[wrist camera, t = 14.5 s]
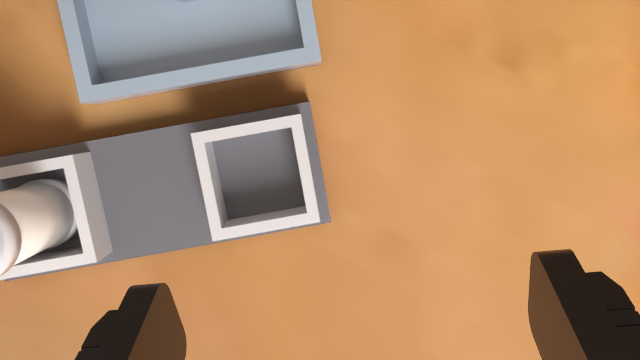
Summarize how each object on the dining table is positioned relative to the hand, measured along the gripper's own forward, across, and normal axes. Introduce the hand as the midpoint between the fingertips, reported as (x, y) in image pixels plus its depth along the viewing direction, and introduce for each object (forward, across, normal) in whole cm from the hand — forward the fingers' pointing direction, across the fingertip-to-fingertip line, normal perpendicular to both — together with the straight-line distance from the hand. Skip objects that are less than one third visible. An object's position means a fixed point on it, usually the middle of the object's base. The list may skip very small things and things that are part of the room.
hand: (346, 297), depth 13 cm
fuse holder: (+18, +12, +7) cm, 23 cm away
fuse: (+17, +18, +7) cm, 25 cm away
